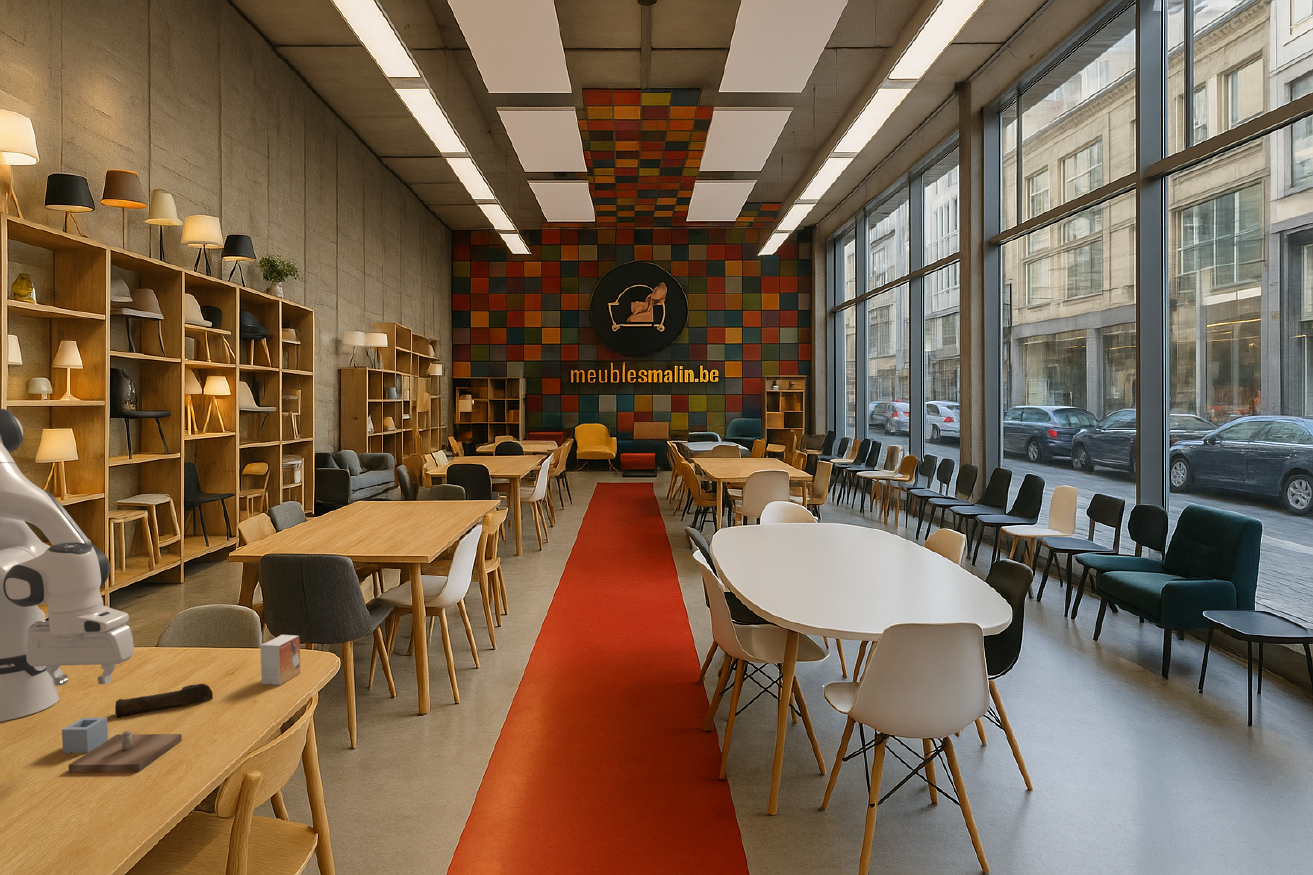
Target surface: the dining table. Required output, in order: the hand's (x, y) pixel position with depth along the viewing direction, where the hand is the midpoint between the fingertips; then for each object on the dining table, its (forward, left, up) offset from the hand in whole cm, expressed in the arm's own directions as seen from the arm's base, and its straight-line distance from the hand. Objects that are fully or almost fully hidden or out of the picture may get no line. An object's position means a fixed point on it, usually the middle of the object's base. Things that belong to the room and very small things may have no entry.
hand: (83, 683), depth 142 cm
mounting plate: (+12, -4, -14) cm, 18 cm away
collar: (0, 0, -14) cm, 14 cm away
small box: (+23, +34, -14) cm, 43 cm away
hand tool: (+3, +19, -14) cm, 24 cm away
